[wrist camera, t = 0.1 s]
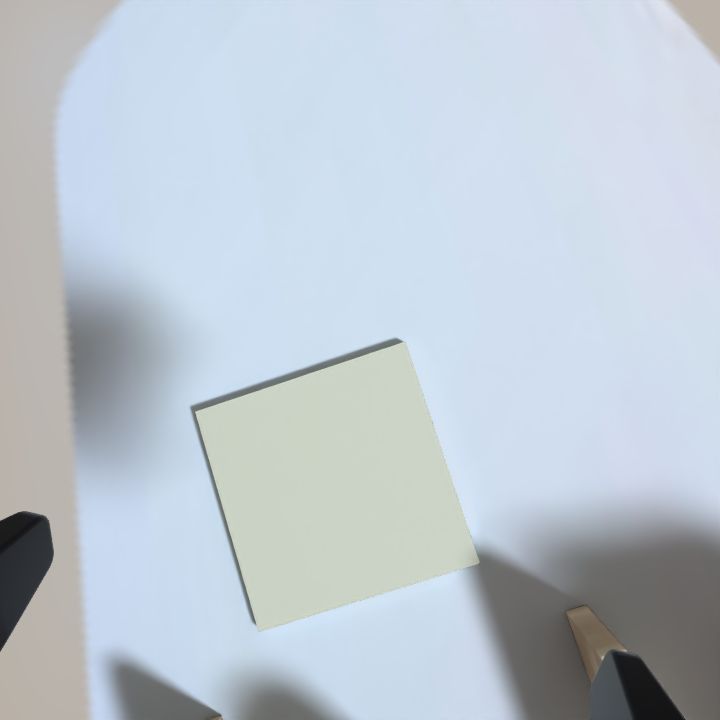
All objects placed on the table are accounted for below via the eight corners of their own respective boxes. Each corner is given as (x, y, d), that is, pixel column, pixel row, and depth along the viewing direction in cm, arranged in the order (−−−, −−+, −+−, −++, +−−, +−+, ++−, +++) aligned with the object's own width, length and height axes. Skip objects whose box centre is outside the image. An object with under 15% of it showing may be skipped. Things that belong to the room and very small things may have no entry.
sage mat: (478, 560, 24) (479, 563, 23) (261, 628, 24) (258, 632, 24) (405, 342, 25) (405, 341, 24) (198, 411, 25) (195, 411, 25)
